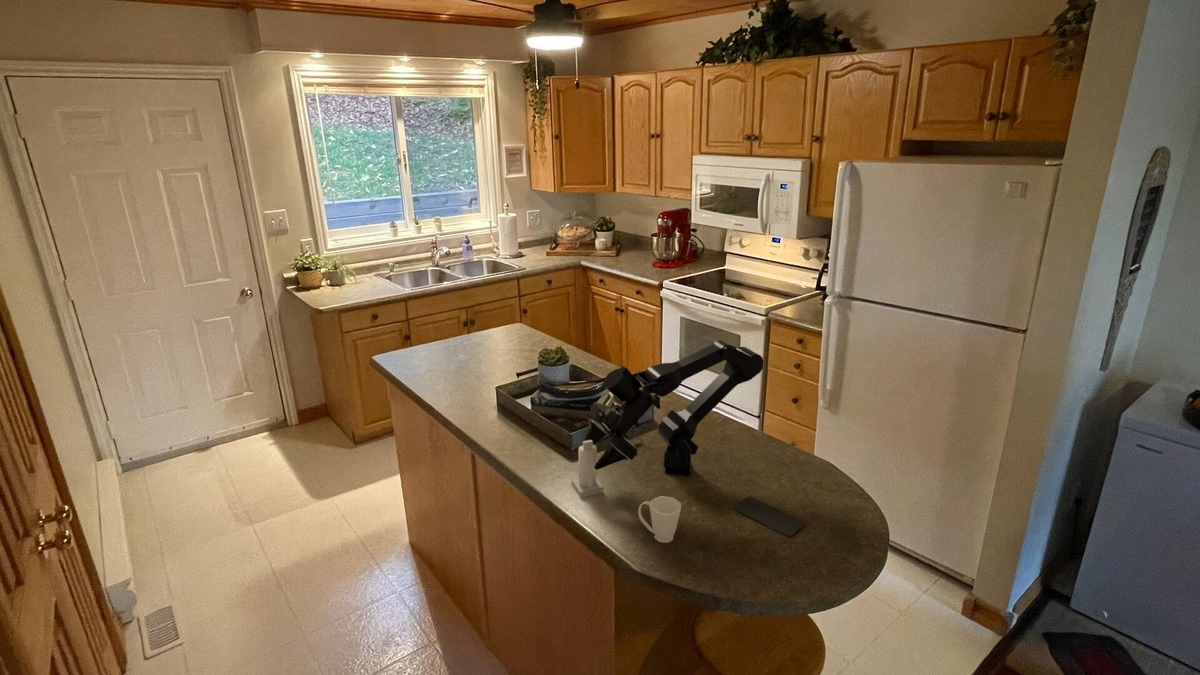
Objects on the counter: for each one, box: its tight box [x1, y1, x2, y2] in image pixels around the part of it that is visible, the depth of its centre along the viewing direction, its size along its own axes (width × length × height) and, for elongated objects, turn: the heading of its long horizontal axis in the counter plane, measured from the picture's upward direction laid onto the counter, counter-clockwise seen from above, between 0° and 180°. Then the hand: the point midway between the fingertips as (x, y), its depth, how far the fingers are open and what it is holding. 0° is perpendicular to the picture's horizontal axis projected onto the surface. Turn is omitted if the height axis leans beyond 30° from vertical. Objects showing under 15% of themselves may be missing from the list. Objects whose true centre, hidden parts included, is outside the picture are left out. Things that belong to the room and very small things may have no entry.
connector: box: [571, 440, 604, 498], centre depth 152 cm, size 6×6×13 cm
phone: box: [733, 495, 806, 537], centre depth 144 cm, size 7×1×15 cm
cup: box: [637, 495, 682, 544], centre depth 137 cm, size 7×10×8 cm
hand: (588, 459), depth 152 cm, fingers open, 9 cm apart
